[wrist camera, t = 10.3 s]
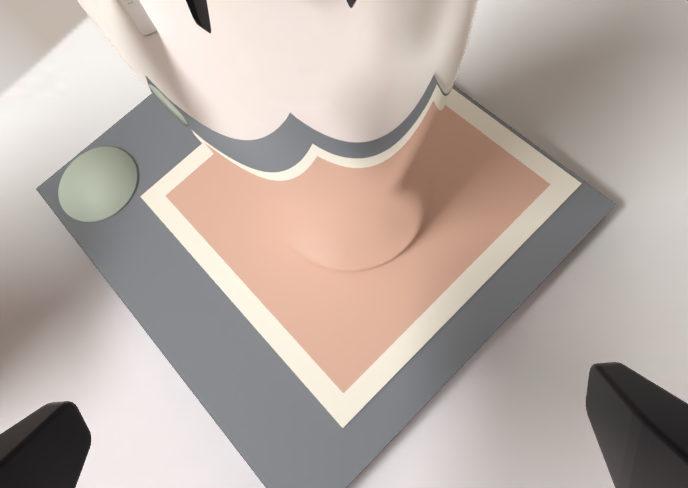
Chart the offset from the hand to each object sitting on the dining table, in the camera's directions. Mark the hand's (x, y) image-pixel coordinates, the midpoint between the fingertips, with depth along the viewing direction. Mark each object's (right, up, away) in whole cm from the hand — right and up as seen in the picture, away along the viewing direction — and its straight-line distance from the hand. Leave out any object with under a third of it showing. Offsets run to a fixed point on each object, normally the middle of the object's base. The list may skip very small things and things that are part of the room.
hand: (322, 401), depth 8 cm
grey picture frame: (-1, +4, +12) cm, 13 cm away
